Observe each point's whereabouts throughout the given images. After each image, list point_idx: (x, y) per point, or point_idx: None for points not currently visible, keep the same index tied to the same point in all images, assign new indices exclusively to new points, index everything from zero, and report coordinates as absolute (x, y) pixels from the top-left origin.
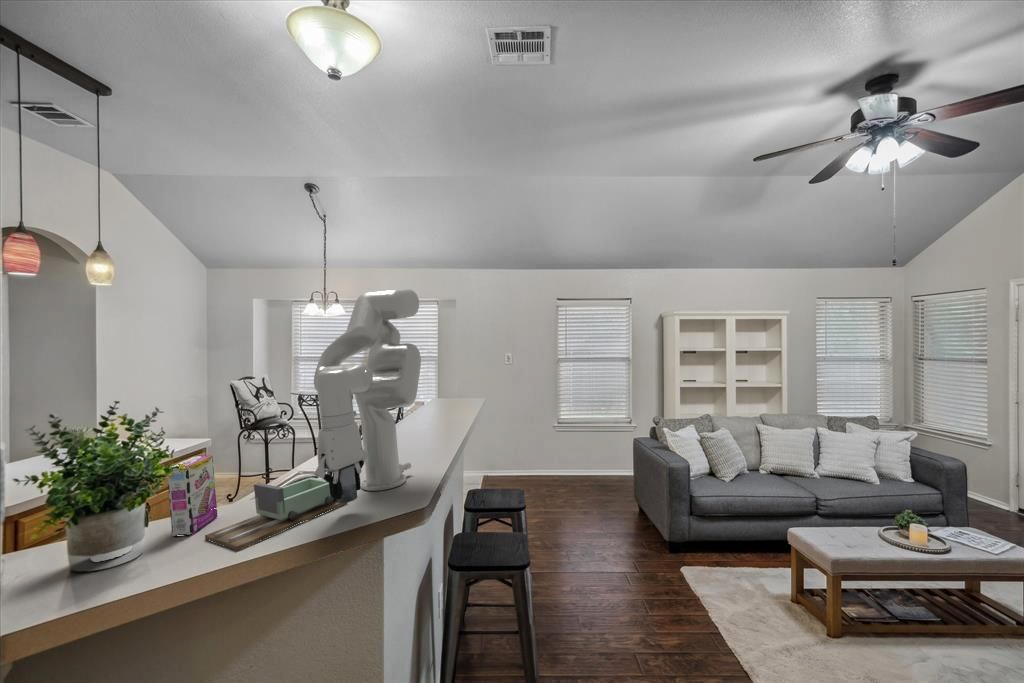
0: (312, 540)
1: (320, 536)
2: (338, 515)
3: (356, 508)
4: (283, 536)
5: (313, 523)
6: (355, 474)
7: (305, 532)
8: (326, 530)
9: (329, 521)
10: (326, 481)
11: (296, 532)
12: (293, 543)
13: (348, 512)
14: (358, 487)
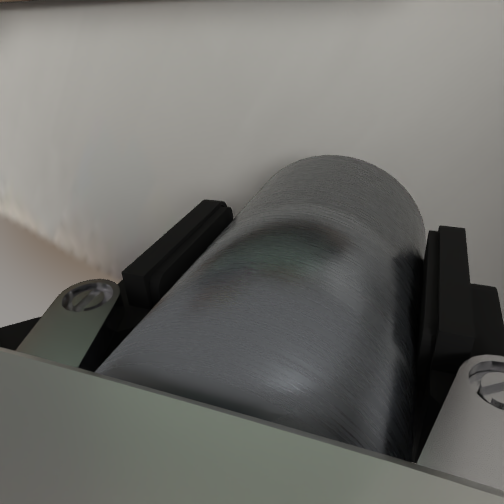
0: (81, 258)
1: (115, 262)
2: (315, 133)
3: (466, 158)
4: (5, 76)
5: (164, 79)
6: (415, 435)
7: (90, 152)
8: (158, 239)
9: (228, 158)
10: (72, 288)
11: (61, 100)
12: (22, 202)
13: (381, 160)
14: None
